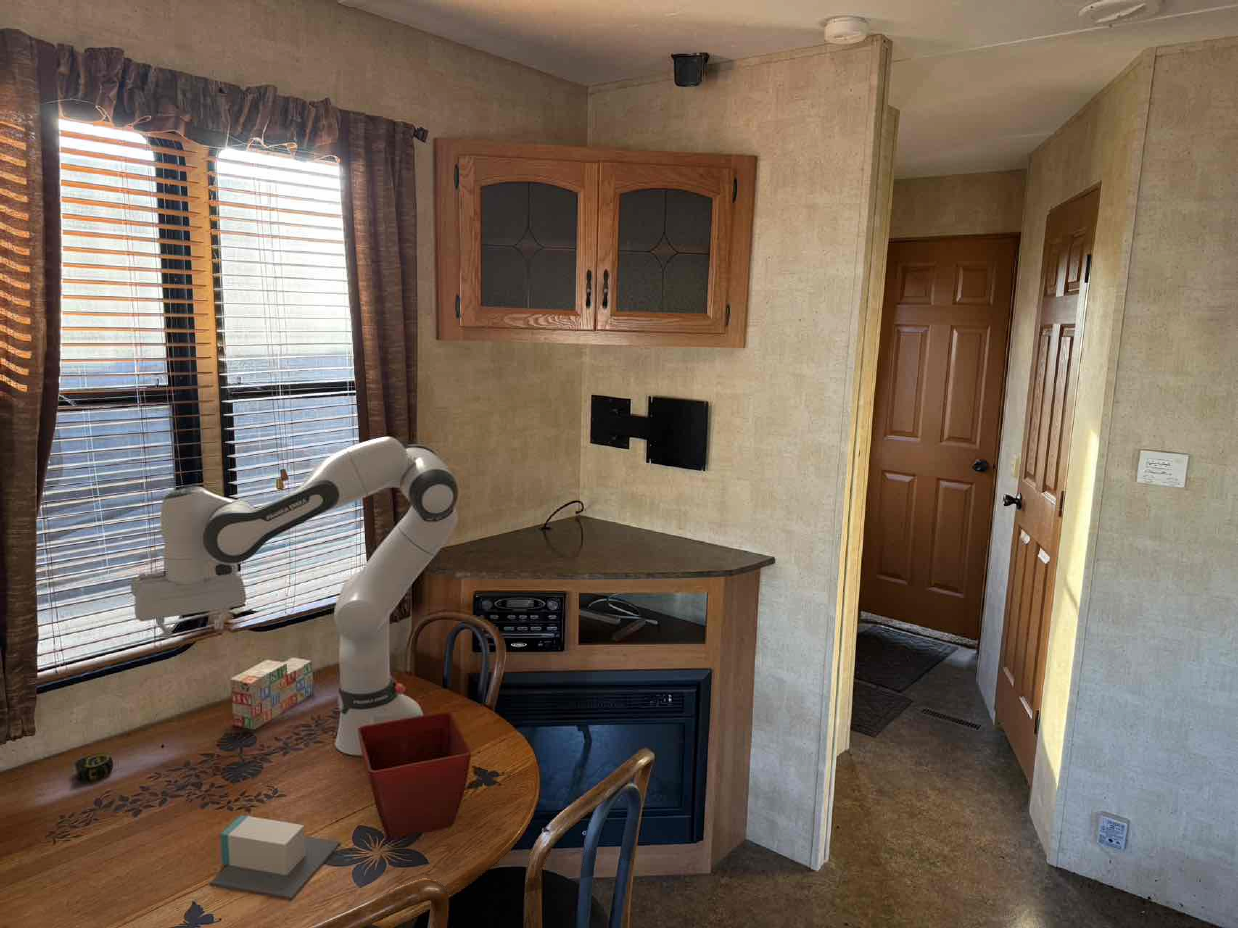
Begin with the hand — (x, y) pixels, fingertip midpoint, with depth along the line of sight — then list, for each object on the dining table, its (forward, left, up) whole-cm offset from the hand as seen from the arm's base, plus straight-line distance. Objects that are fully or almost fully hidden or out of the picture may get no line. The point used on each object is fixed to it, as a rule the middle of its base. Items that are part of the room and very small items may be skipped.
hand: (193, 632), depth 177 cm
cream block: (-1, +28, -31) cm, 41 cm away
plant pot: (-34, +33, -34) cm, 58 cm away
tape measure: (+20, -16, -34) cm, 43 cm away
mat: (-7, +34, -34) cm, 49 cm away
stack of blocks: (-20, -30, -34) cm, 50 cm away
